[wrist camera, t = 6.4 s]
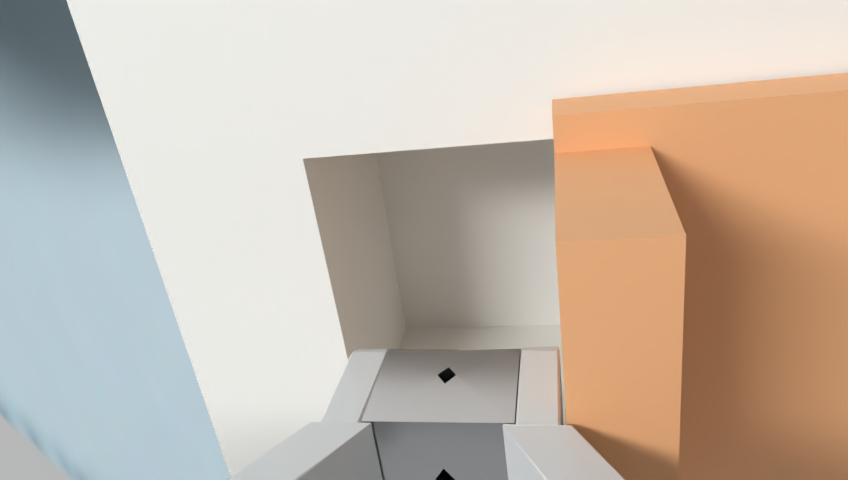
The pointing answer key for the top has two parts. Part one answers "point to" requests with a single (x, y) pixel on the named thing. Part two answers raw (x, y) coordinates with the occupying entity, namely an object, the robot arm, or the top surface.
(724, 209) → the shutter
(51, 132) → the top surface
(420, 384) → the robot arm
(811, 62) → the socket
